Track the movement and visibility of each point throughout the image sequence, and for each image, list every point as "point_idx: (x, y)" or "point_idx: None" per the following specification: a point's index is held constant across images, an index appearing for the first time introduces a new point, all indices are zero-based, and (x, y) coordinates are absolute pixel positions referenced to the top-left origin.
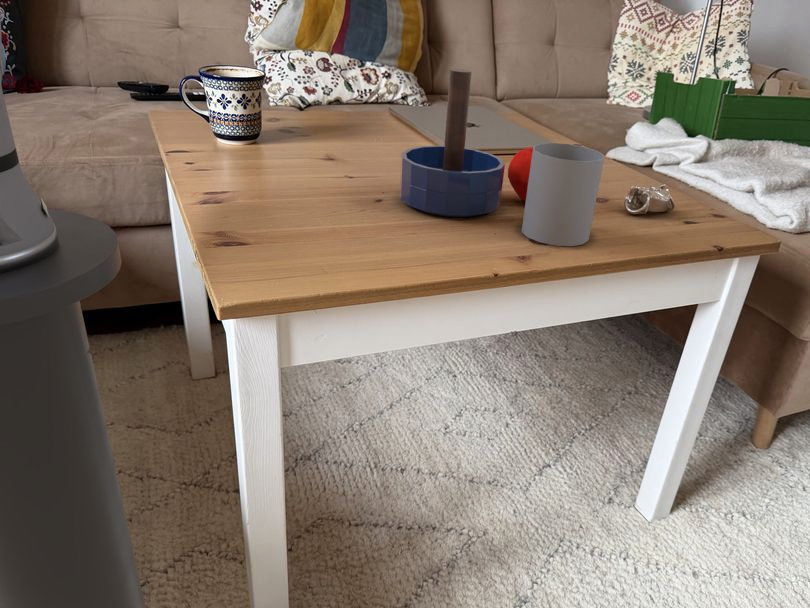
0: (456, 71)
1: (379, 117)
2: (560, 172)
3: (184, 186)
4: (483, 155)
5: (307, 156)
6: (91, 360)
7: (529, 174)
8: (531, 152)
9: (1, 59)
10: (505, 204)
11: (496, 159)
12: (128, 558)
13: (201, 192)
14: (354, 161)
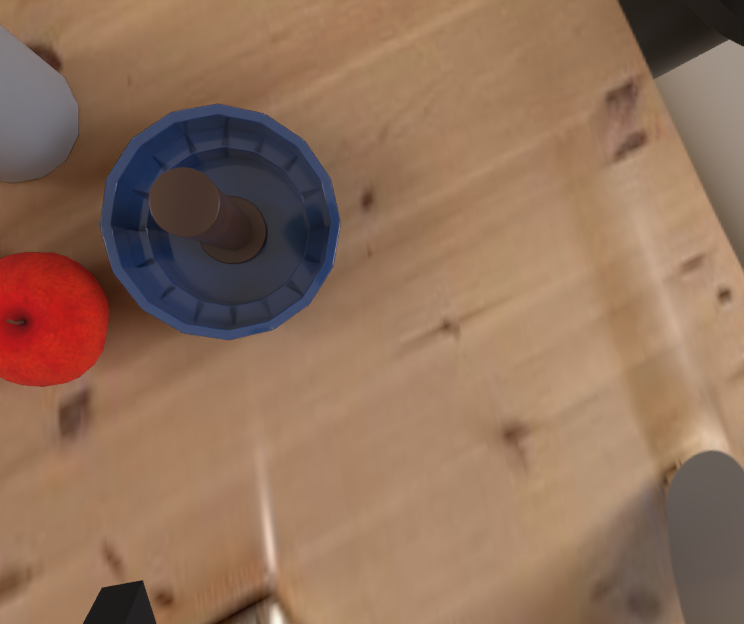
0: (194, 169)
1: None
2: None
3: (685, 163)
4: (161, 307)
5: (556, 435)
6: (622, 3)
7: (26, 91)
8: (34, 329)
9: None
10: None
11: (124, 268)
12: None
13: (651, 141)
14: (464, 442)
